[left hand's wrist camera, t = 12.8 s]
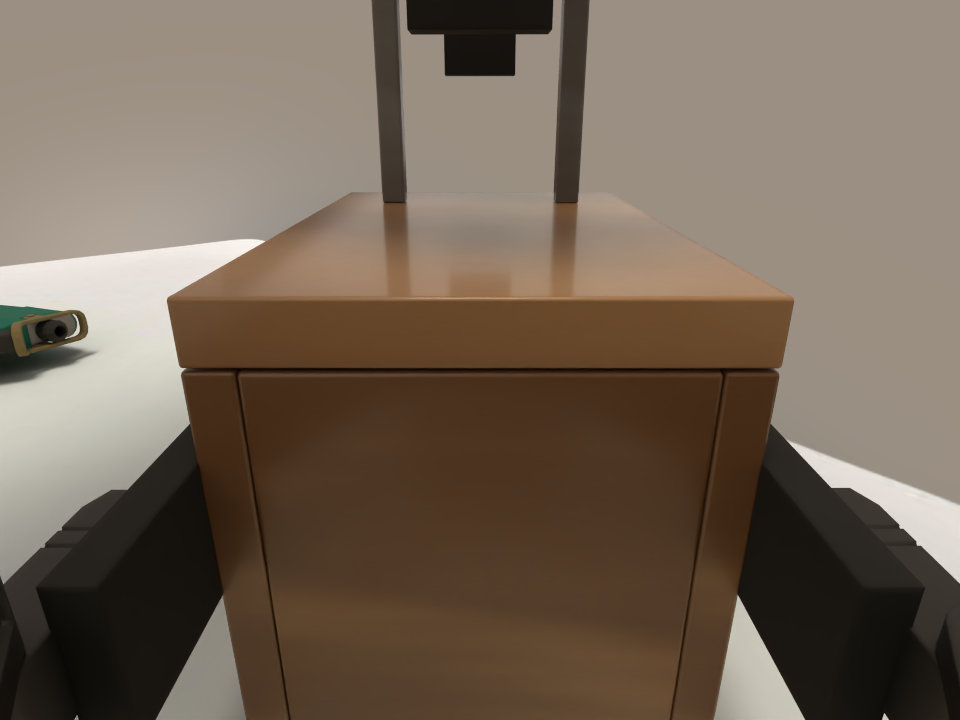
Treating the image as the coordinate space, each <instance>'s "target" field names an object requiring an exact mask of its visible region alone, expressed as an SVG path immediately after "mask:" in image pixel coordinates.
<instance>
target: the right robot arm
mask: <svg viewBox="0 0 960 720" xmlns="http://www.w3.org/2000/svg"><path fill="white" fill-rule="evenodd" d="M406 1H407V27H408V31H409V32H410V33H411V34H444V52H445V76H514V75H515V43H516V34H549V32H550V31H551V30H552V18H553V0H406Z"/></svg>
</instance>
